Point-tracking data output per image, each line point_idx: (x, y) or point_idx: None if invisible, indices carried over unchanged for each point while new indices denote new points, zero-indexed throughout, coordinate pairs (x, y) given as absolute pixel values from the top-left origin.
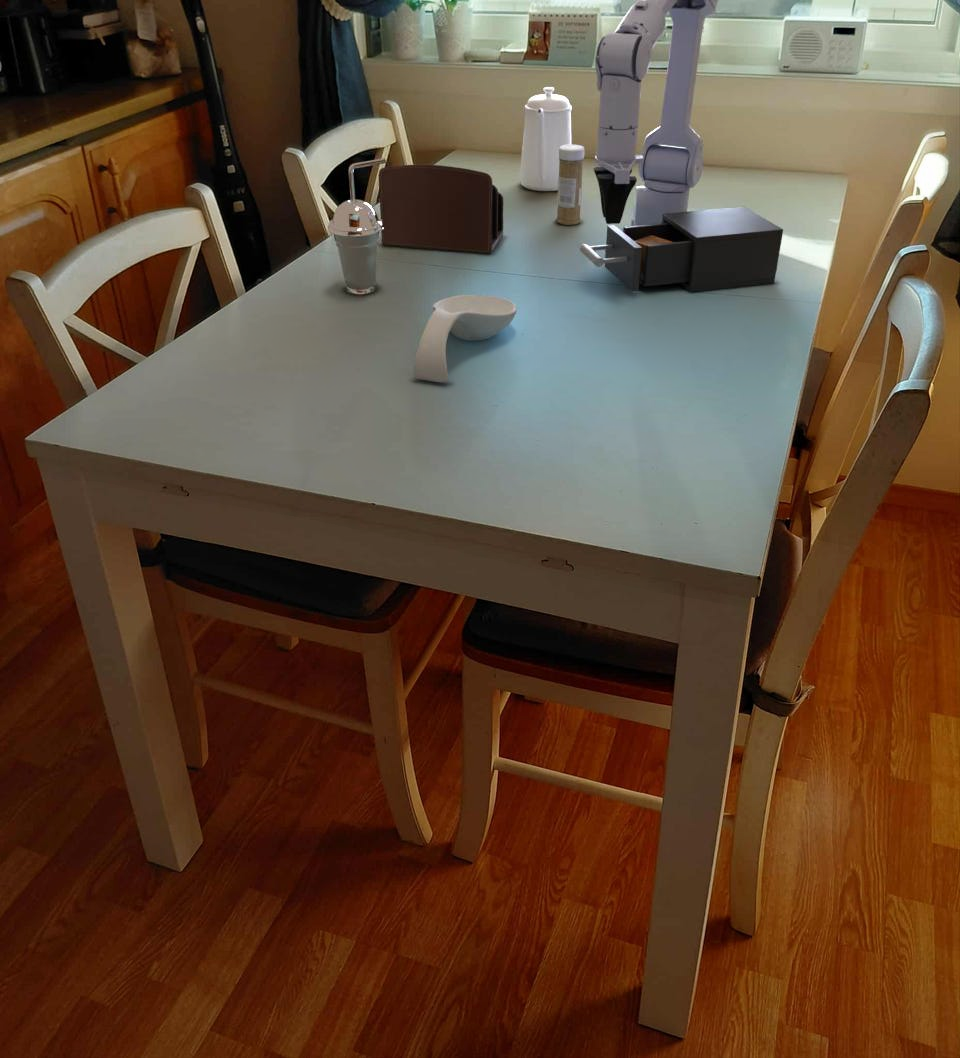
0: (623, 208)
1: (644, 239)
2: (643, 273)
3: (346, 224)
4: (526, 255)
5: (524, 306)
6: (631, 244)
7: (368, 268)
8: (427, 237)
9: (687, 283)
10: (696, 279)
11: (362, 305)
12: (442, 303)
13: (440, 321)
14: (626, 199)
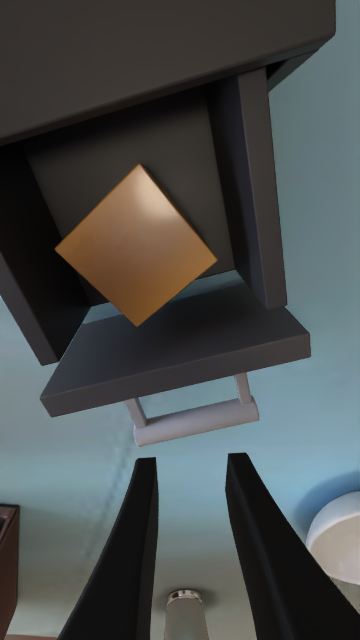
0: (282, 517)
1: (115, 285)
2: None
3: None
4: (7, 460)
5: (269, 461)
6: (271, 364)
7: (205, 637)
8: (8, 591)
9: None
10: None
11: (235, 591)
12: (335, 571)
13: None
14: (329, 578)
